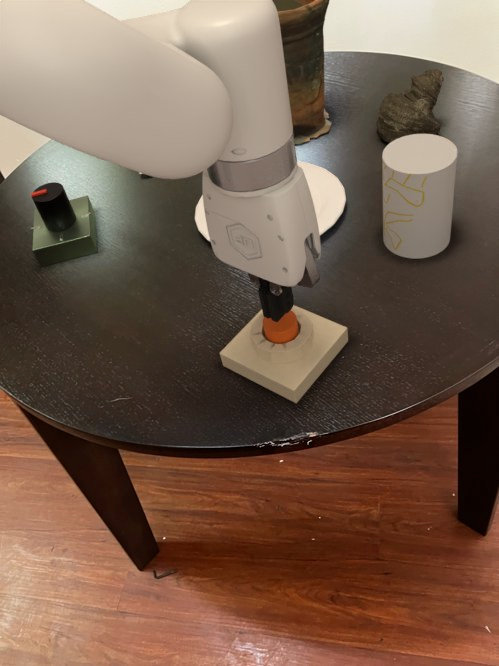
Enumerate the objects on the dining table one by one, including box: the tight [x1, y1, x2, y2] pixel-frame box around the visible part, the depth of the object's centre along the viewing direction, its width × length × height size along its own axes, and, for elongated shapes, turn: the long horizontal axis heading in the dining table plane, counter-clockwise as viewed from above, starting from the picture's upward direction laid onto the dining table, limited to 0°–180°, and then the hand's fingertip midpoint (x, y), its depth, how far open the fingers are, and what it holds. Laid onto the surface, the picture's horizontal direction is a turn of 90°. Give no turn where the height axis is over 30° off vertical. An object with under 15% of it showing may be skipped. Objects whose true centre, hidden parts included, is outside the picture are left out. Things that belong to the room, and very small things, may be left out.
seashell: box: [375, 68, 444, 144], centre depth 94 cm, size 11×12×10 cm
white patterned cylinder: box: [381, 134, 458, 260], centre depth 77 cm, size 8×8×12 cm
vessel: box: [272, 0, 332, 145], centre depth 98 cm, size 14×14×20 cm
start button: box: [263, 310, 298, 344], centre depth 68 cm, size 4×4×2 cm
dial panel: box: [30, 195, 98, 268], centre depth 92 cm, size 10×9×3 cm
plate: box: [194, 160, 347, 243], centre depth 89 cm, size 21×21×2 cm
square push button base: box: [219, 304, 349, 404], centre depth 70 cm, size 10×10×4 cm
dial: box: [30, 181, 76, 231], centre depth 89 cm, size 4×4×5 cm
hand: (279, 310), depth 67 cm, fingers closed
